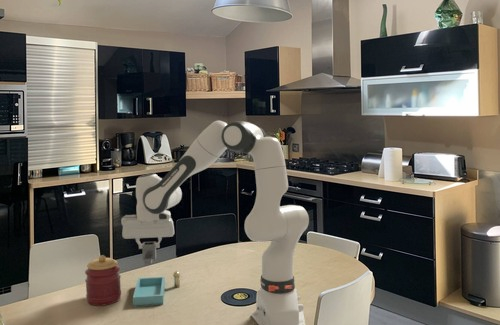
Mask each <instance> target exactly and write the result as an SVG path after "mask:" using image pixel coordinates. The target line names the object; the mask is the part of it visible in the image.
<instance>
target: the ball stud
mask: <svg viewBox="0 0 500 325" xmlns="http://www.w3.org/2000/svg"><path fill="white" fill-rule="evenodd" d="M172 277H173V283H174V284H173V288H176V289H177V288H180V287H181V284H180V280H181V279H180V277H181V273H180V271H177V270H176V271H174V272H173V274H172Z"/></svg>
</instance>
